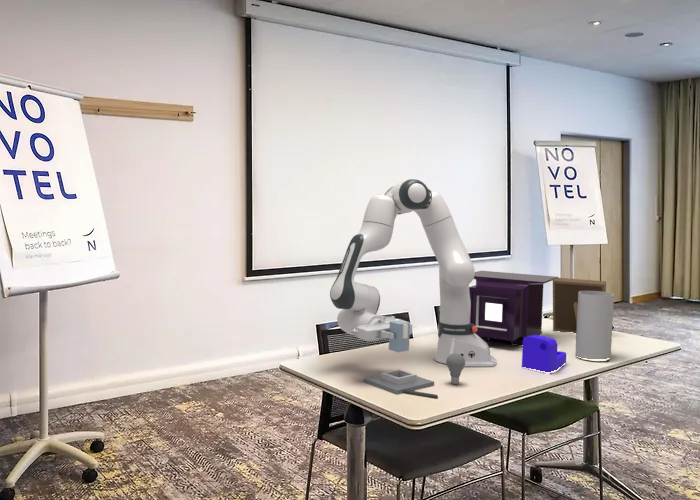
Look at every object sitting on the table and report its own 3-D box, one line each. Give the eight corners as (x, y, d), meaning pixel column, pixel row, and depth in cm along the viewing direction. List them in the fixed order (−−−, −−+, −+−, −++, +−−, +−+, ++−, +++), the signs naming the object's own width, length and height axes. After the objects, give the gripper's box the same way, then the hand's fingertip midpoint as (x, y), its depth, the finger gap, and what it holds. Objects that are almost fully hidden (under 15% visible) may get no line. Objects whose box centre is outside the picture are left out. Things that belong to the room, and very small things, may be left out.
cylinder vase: (617, 360, 233) (621, 294, 231) (596, 364, 227) (599, 296, 225) (589, 352, 244) (592, 290, 242) (568, 356, 238) (571, 292, 236)
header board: (399, 373, 209) (400, 364, 209) (434, 385, 197) (434, 375, 197) (363, 381, 200) (363, 372, 199) (397, 394, 187) (397, 384, 187)
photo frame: (555, 329, 289) (557, 276, 287) (605, 335, 278) (607, 280, 276) (547, 335, 276) (550, 279, 274) (599, 341, 265) (602, 283, 263)
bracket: (548, 374, 212) (550, 341, 211) (521, 368, 221) (523, 335, 220) (576, 366, 224) (578, 334, 223) (550, 360, 232) (551, 329, 231)
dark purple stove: (479, 328, 288) (481, 270, 286) (555, 338, 269) (558, 276, 267) (449, 342, 258) (451, 277, 256) (532, 354, 240) (535, 285, 238)
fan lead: (402, 393, 189) (402, 389, 188) (404, 392, 189) (404, 388, 189) (437, 398, 184) (437, 395, 184) (438, 397, 185) (438, 394, 184)
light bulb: (443, 381, 202) (444, 351, 201) (461, 381, 202) (462, 350, 202) (448, 386, 196) (449, 355, 195) (466, 386, 196) (467, 355, 196)
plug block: (399, 347, 201) (400, 320, 200) (410, 351, 196) (411, 323, 196) (388, 349, 198) (389, 321, 197) (399, 352, 194) (400, 324, 193)
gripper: (348, 321, 200) (376, 328, 190) (395, 315, 213) (424, 322, 202) (348, 340, 201) (376, 349, 190) (394, 333, 214) (423, 341, 203)
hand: (401, 335), depth 196 cm, fingers closed on plug block, 4 cm apart
